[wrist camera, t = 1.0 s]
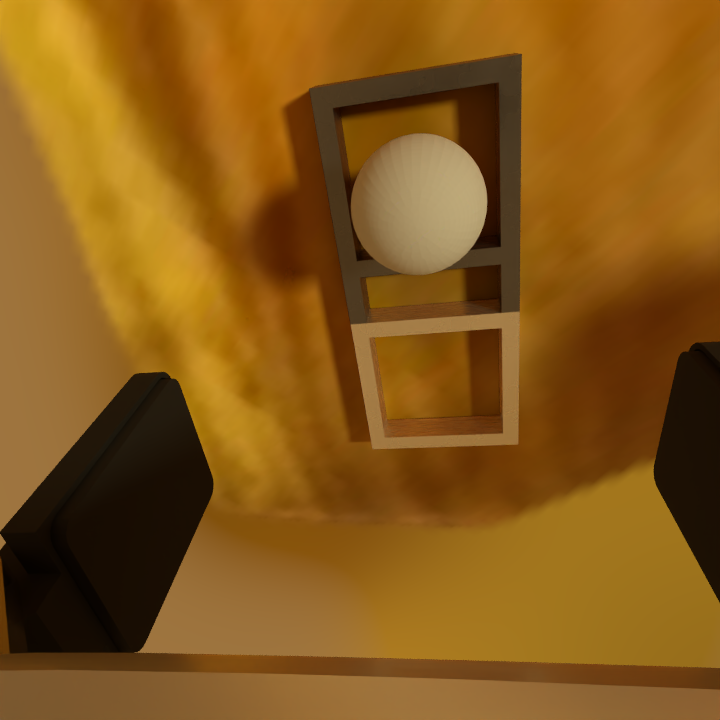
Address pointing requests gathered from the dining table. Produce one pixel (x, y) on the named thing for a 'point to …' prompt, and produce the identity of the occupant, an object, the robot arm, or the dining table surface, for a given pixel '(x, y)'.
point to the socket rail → (482, 253)
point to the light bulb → (419, 204)
